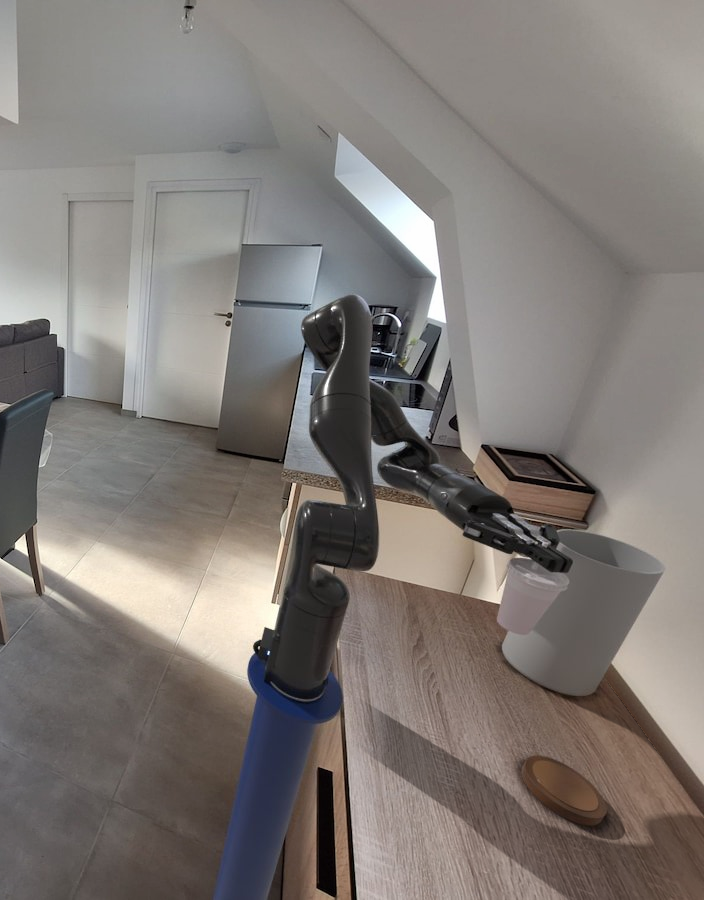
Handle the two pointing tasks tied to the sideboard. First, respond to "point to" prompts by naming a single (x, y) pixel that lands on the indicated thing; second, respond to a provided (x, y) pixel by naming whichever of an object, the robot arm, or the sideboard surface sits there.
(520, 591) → the smoothie
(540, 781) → the coaster
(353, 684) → the sideboard surface
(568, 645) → the cylinder vase
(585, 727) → the sideboard surface
